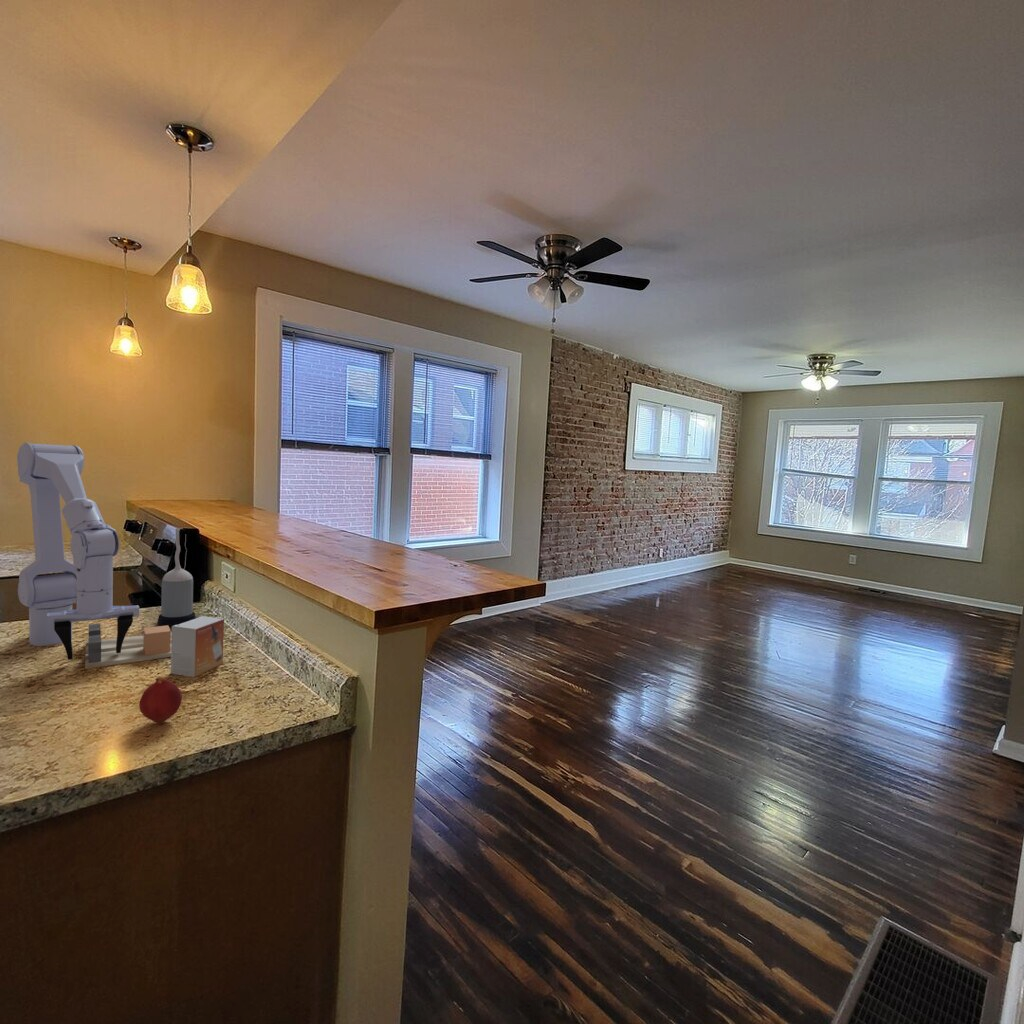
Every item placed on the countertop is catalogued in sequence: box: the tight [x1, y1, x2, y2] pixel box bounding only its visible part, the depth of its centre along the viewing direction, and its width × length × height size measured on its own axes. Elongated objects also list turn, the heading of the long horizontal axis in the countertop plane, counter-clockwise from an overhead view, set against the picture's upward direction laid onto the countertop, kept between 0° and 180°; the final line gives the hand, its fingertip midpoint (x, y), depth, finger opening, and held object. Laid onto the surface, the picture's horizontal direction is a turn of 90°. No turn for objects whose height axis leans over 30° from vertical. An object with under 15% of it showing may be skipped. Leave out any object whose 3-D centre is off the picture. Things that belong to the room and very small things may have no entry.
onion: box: [138, 676, 183, 725], centre depth 88 cm, size 6×6×8 cm
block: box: [142, 625, 172, 655], centre depth 114 cm, size 4×4×4 cm
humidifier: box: [156, 528, 197, 629], centre depth 134 cm, size 8×8×25 cm
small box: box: [170, 615, 225, 678], centre depth 108 cm, size 8×6×10 cm
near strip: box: [84, 635, 171, 669], centre depth 112 cm, size 6×16×5 cm, turn 128°
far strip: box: [84, 622, 172, 655], centre depth 119 cm, size 6×16×5 cm, turn 128°
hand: (94, 654), depth 108 cm, fingers open, 7 cm apart
